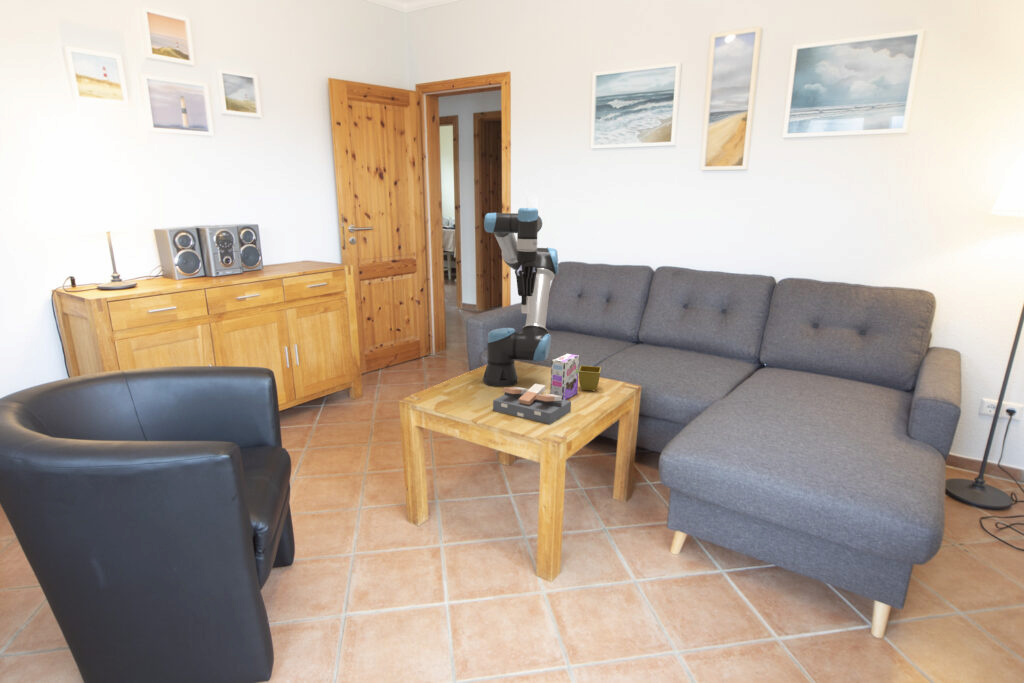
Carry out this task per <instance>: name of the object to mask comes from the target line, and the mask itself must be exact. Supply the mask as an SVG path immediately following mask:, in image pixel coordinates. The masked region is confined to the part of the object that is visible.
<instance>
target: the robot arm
mask: <svg viewBox="0 0 1024 683" xmlns="http://www.w3.org/2000/svg"><path fill="white" fill-rule="evenodd" d="M483 224H484V225H483V226H484V231H485V232H486V233H491V234H493V235H494V237H495V239H496V241H497V243H498V246H499V248H500V249H501V250H500V251H501V258H502V260H503V262H504V263H505V264H506V265H507V266H508V267H509V268H511V269H512V270H514V274H515V278H516V286H517V295H518V296H519V297H521V302H520V303H521V307H520V308H521V312H520V313H521V314H526V317H525V318H526V319H525V320H526V321H525V325H524V326H522V327H521V330H520V332H517V331H516V330H515V328H514V327H501V328H496V329H492V330H490V331H489V332H488V334H487V341H486V342H487V347H486V348H487V352H486V353H487V354H486V356H487V364H486V367H485V370H484V373H483V376H482V382H483V383H484V384H486V385H488V386H490V387H491V386H492V387H502V388H503V387H510V386H511V387H512V386H514V385H517V384H518V383H519V376H518V372H517V370H516V366H515V360H517V361H529V362H530V361H531V362H532V361H533V362H544V361H547V359H548V356H549V353H550V350H551V343H552V334H549V329H547V328H546V326H547V325H546V323H547V317H548V316H547V315H548V309H549V308H548V307H549V306H548V305H549V297H550V289H551V282H552V281H553V280H554V279H555V276H556V275H558V274H559V257H558V250H557V249H556V248H552V247H546V248H545V247H538V244H539V243H538V233H539V232H540V230H541V229H542V227H543V219H542V218H541V217H540V215H539V210H538V208H535V207H530V208H529V207H521V208H519V209H518V211H517V213H516V212H515V213H510V212H509V213H508V212H507V213H506V212H503V213H502V212H488V213H486V214H485V216H484V221H483ZM515 234H517V235H516V236H517V237H516V236H515Z"/></svg>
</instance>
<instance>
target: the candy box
mask: <svg viewBox="0 0 1024 683" xmlns="http://www.w3.org/2000/svg"><path fill="white" fill-rule="evenodd" d="M579 366H580V355H577V354H572V353H565V354H563V355H561V356H557V357H556V358H554V359H551V367H550V369H551V370H550V373H551V374H550V388H549V391H550V392H549V394H554V395H558V396H562V399H563V400H567V401H568V400H569V399H571V398H572V397H575V395H577V394H578V393H579V392H578V391H579V390H578V388H579V387H578V386H579V369H580V367H579Z"/></svg>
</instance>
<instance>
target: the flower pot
mask: <svg viewBox="0 0 1024 683" xmlns="http://www.w3.org/2000/svg"><path fill="white" fill-rule="evenodd" d="M579 366H580V367H579V370H578V384H579V386H580V388H581V390H582V391H584V390H595V391H596V390H597V388H598V385H599V382H600V381H599V380H600V376H601V371H602V367H601V366H592V365H591V366H590V365H579Z"/></svg>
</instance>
